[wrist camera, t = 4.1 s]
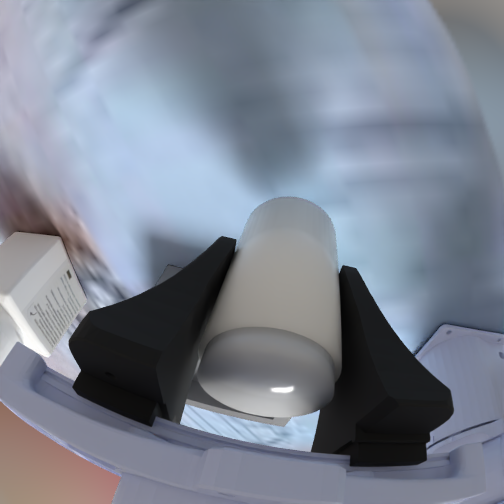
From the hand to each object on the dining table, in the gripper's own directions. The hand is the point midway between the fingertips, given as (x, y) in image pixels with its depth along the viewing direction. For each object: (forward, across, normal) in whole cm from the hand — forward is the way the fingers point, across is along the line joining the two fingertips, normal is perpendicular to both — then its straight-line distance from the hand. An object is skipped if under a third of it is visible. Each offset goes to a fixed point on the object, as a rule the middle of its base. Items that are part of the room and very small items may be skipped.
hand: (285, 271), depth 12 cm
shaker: (+2, 0, 0) cm, 2 cm away
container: (+6, +21, +11) cm, 24 cm away
